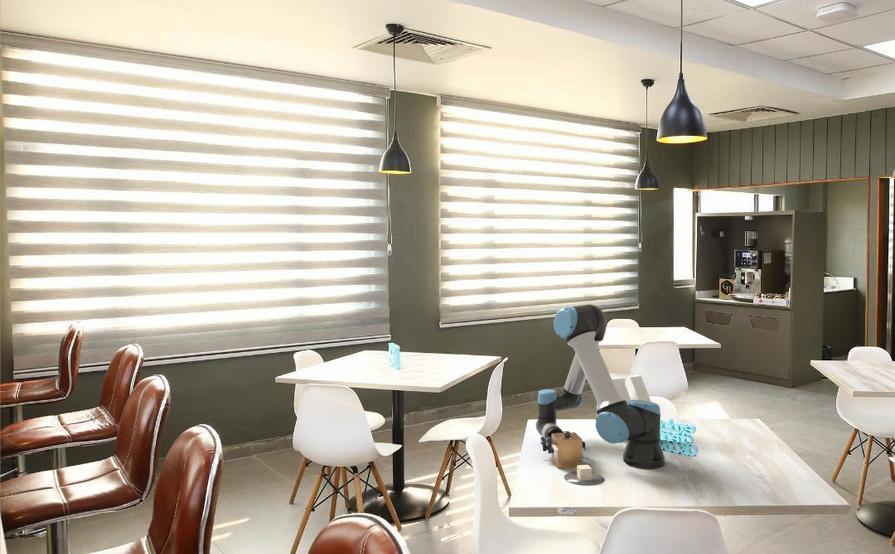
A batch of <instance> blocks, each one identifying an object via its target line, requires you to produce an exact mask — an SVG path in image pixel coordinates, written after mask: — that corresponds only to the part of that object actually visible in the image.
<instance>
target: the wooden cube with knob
mask: <svg viewBox="0 0 895 554" xmlns="http://www.w3.org/2000/svg"><path fill="white" fill-rule="evenodd" d="M582 441H583V439H582V438H581V437H580V436H579V435H578V434H577V433H576V432H575V431H574V432H571V431H569V430H568V431H567V430H564V431H563V433H552V445H554V446H555V447H556V448H557V449H558V458H556V457H555V455H554V454H553V453H551V462H552V463H553V464H554V466H555V467H556V468H557V469H558V470H560V469H561V470H562V469H577V465H583V456H582Z"/></svg>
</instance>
